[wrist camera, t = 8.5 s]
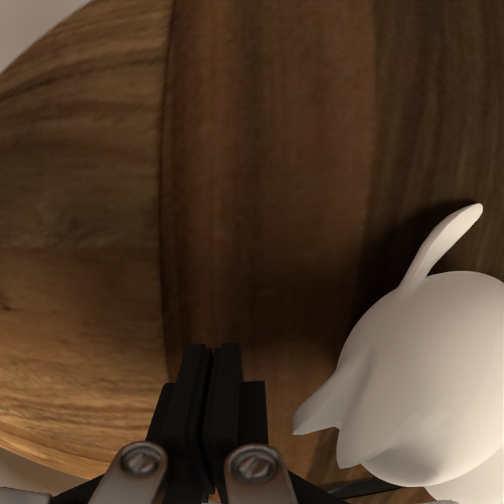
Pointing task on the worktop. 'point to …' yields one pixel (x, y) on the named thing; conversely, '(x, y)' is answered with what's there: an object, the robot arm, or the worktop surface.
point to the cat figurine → (424, 380)
